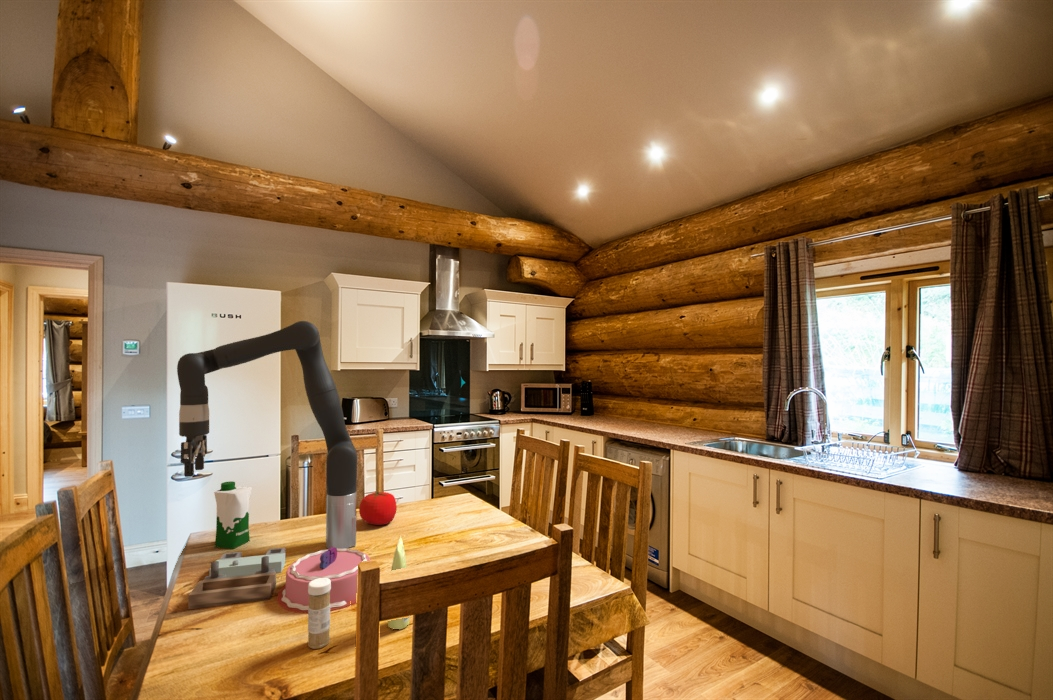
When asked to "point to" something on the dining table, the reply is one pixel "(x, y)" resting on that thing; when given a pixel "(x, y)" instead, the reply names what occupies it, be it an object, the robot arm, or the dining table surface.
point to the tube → (397, 563)
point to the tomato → (378, 508)
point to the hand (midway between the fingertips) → (194, 473)
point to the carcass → (233, 587)
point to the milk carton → (232, 515)
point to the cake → (322, 565)
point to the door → (249, 563)
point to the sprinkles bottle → (319, 613)
